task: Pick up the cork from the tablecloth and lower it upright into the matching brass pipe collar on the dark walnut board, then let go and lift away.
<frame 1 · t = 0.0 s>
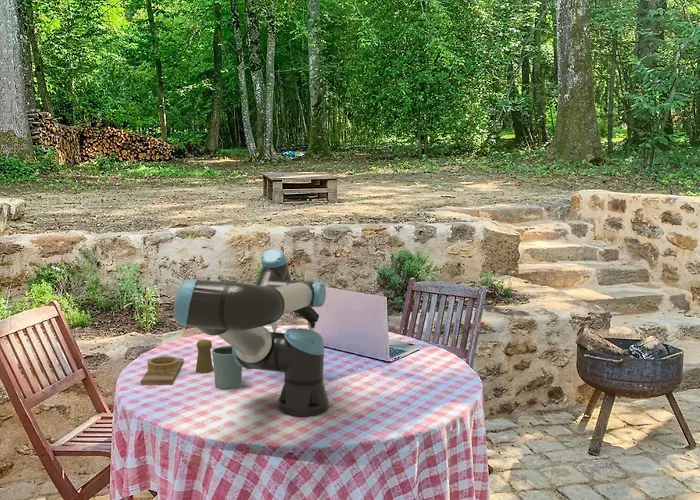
hand: (294, 330, 225), 15 cm above the table, tool tilted 35°, fingers open, 13 cm apart
board: (163, 373, 224), on the table
grey green cup: (227, 385, 214), on the table
cork: (204, 371, 228), on the table
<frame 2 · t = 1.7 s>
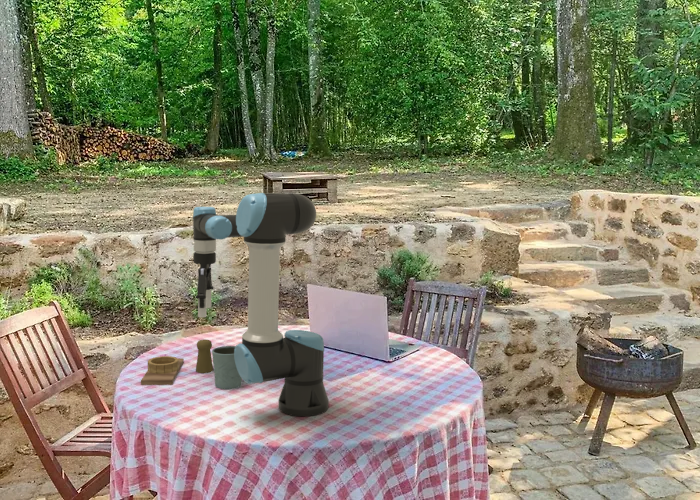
hand: (204, 312, 226), 21 cm above the table, tool pointing down, fingers open, 13 cm apart
nothing on the table moved.
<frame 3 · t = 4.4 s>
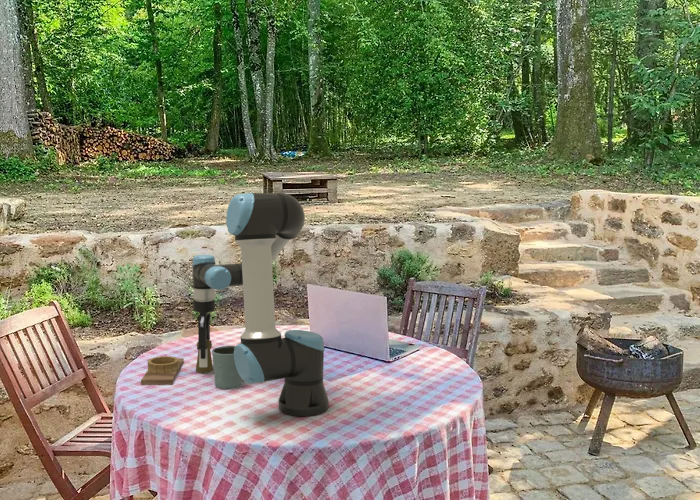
hand: (204, 364, 228), 2 cm above the table, tool pointing down, fingers closed on cork, 5 cm apart
cork: (204, 371, 228), on the table, touching gripper
everything else where it was.
when the fingers open (5 cm above the table, at t = 10.5 s): cork drops 1 cm, resting on board.
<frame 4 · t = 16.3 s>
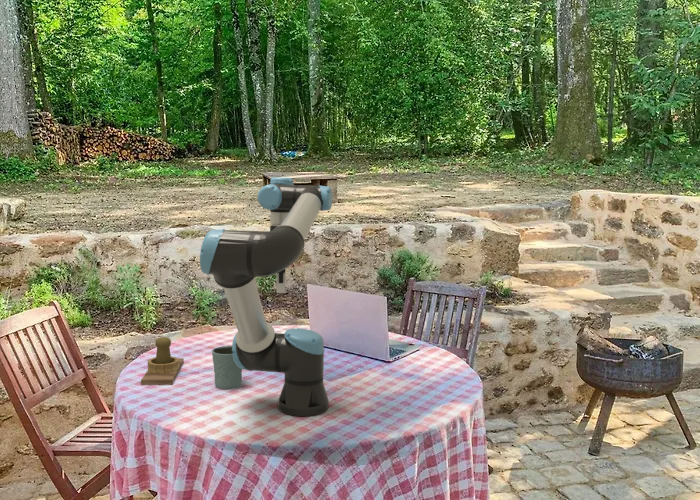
hand: (281, 288, 215), 32 cm above the table, tool pointing down, fingers open, 13 cm apart
cork: (163, 369, 224), point 1 cm above the table, touching board
everything else where it was.
at the end: cork 0.1 cm off-centre on the board, point 1.3 cm above the board's base; cork tilted 0°; the gripper is holding nothing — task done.
